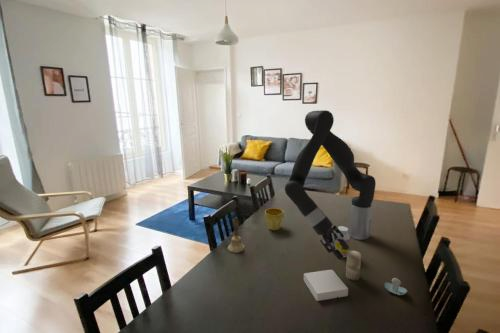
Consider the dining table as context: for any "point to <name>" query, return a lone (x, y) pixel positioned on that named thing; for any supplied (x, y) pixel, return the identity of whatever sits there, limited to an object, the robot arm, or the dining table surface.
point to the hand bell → (236, 239)
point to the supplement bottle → (346, 238)
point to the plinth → (325, 285)
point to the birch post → (353, 265)
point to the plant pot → (274, 218)
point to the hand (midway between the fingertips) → (344, 253)
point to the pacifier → (395, 287)
